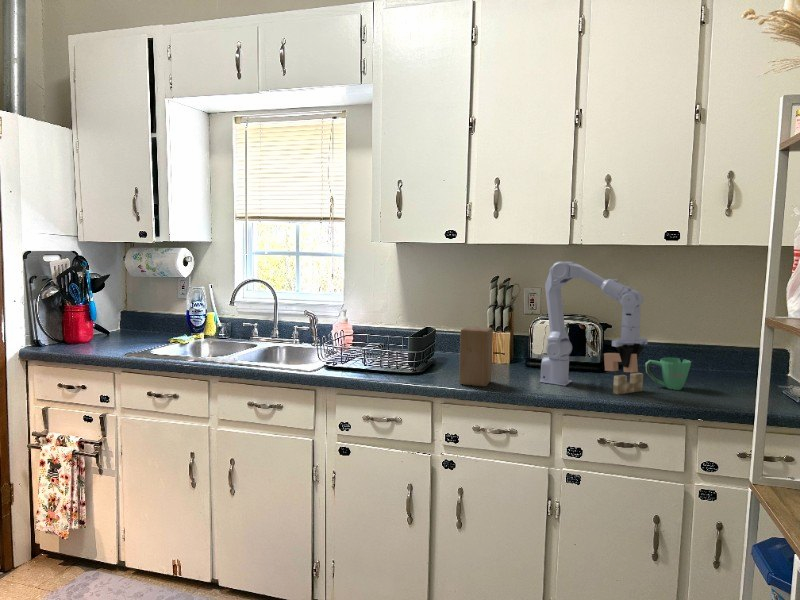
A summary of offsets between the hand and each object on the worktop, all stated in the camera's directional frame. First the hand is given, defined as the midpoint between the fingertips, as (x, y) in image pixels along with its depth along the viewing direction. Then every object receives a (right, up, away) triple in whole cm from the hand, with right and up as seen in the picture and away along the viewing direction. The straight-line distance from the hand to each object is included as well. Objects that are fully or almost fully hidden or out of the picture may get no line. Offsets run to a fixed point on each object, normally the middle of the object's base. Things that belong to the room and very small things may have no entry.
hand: (628, 366), depth 190 cm
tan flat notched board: (-1, -2, +3) cm, 4 cm away
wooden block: (-50, -8, +14) cm, 52 cm away
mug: (+18, -9, +11) cm, 23 cm away
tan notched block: (+1, -9, +4) cm, 10 cm away
